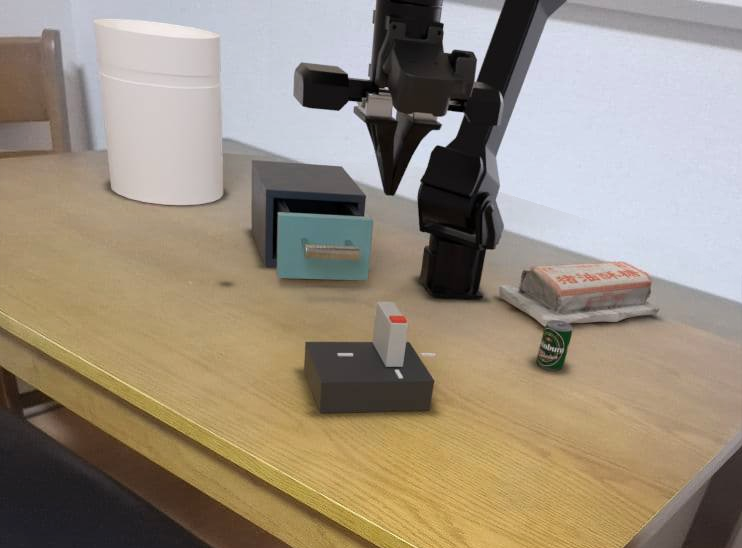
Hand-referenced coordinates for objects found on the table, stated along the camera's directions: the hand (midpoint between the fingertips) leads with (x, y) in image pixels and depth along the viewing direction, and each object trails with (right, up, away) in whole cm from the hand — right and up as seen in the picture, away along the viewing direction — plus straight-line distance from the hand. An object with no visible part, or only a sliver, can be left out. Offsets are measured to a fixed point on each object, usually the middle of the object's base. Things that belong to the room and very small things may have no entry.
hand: (389, 194), depth 75 cm
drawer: (-9, -1, +16) cm, 19 cm away
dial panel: (-2, -20, -5) cm, 20 cm away
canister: (-34, +18, +38) cm, 54 cm away
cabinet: (-12, +4, +24) cm, 27 cm away
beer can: (+17, -16, +4) cm, 23 cm away
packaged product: (+23, -5, +19) cm, 31 cm away
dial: (0, -17, -6) cm, 18 cm away
